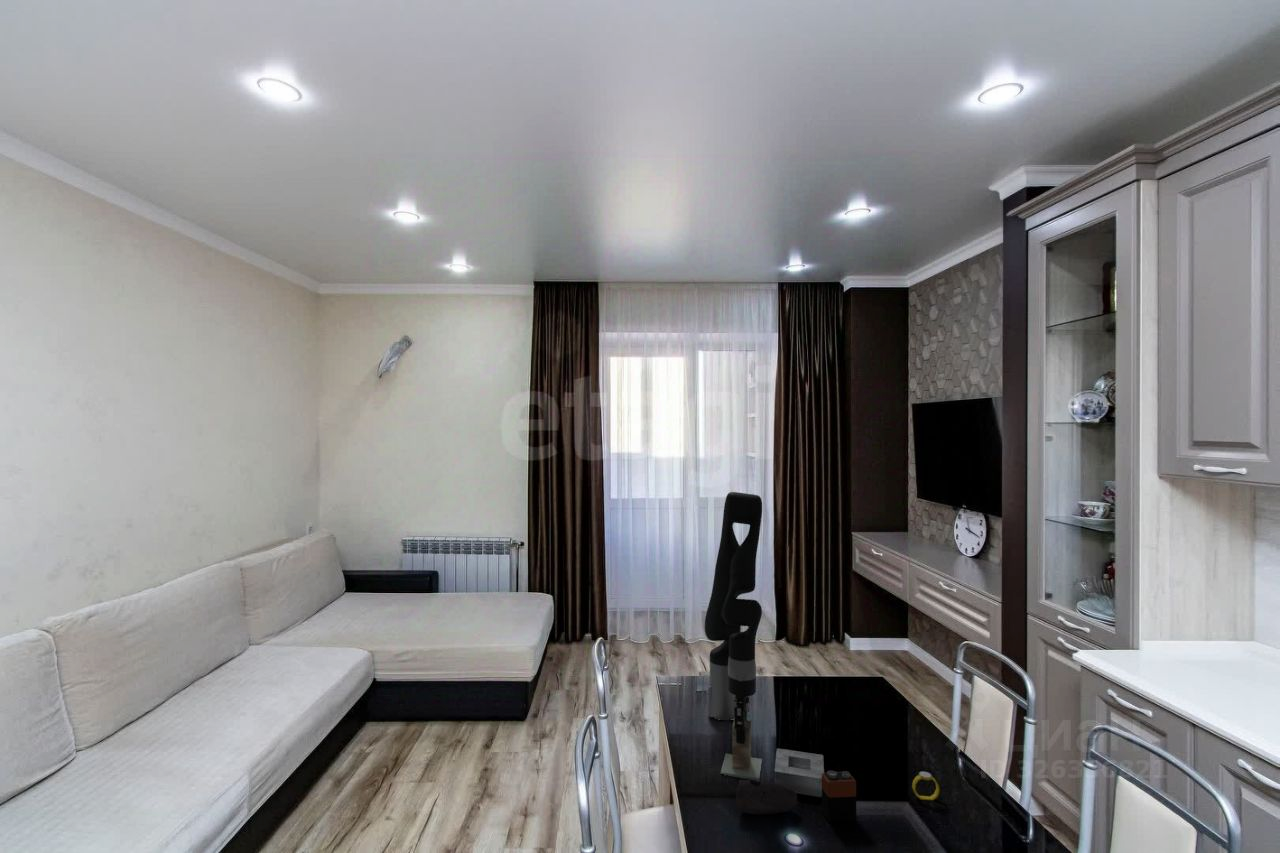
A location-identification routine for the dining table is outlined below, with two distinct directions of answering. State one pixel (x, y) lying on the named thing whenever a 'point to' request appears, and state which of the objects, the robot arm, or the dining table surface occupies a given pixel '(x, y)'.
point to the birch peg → (741, 749)
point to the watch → (926, 777)
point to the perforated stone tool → (764, 797)
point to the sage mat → (751, 774)
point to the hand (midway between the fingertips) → (741, 737)
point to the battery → (838, 796)
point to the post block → (799, 771)
